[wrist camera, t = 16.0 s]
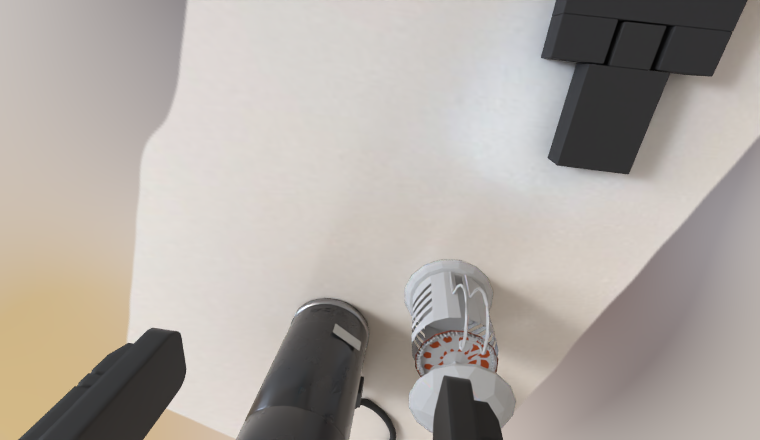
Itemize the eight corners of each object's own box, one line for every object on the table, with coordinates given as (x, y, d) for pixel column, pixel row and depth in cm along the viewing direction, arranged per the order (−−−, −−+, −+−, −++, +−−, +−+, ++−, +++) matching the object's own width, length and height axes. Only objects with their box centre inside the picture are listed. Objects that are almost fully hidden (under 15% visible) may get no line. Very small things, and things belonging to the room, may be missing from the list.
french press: (396, 322, 42) (370, 626, 20) (417, 236, 38) (415, 507, 15) (478, 339, 42) (548, 665, 20) (510, 255, 37) (652, 559, 15)
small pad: (614, 166, 33) (628, 174, 30) (547, 158, 33) (557, 165, 31) (667, 30, 28) (688, 28, 26) (588, 22, 28) (603, 18, 26)
